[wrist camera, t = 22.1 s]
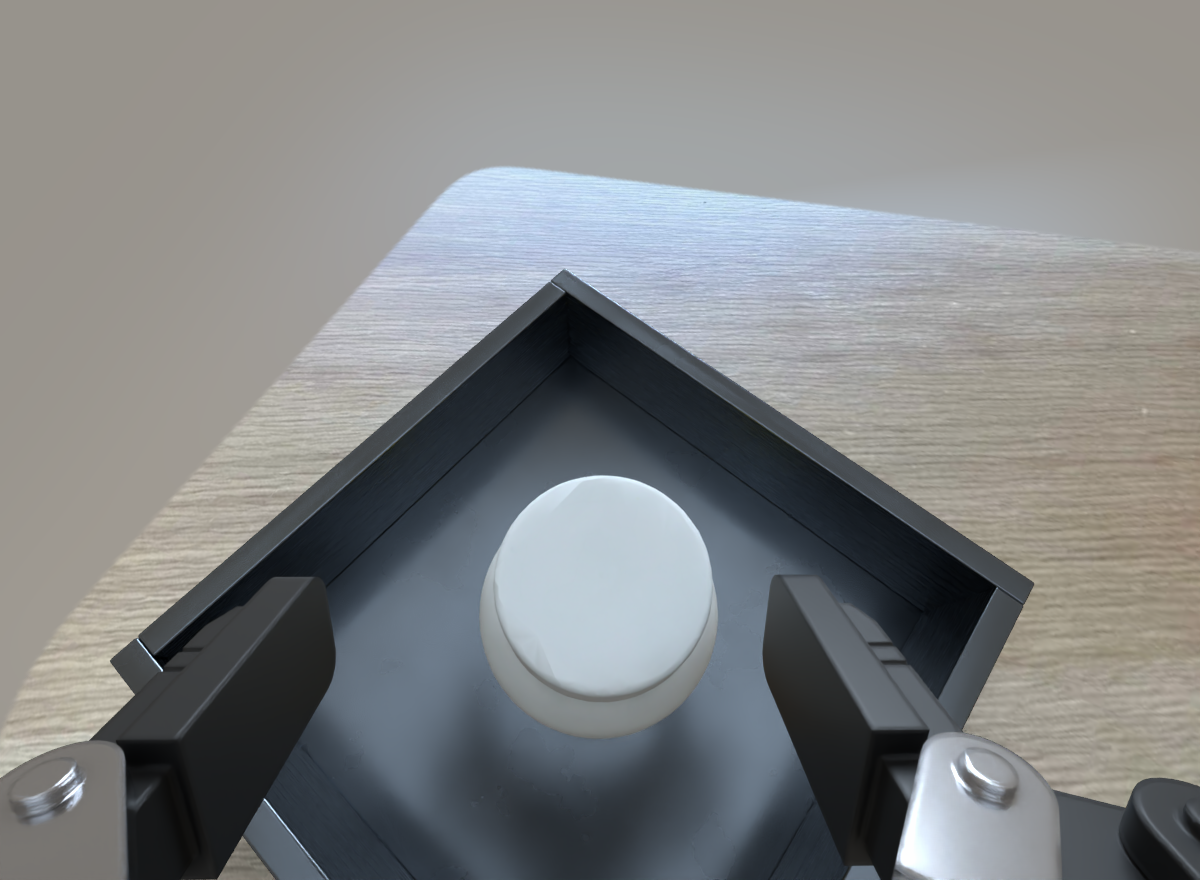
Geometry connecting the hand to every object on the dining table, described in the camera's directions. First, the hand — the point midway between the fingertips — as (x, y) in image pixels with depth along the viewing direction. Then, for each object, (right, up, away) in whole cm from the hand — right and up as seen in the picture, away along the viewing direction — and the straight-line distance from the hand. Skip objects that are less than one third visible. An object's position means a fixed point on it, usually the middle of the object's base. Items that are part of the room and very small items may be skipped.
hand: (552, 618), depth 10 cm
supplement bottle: (+1, -4, +9) cm, 9 cm away
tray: (+1, -4, +9) cm, 10 cm away
